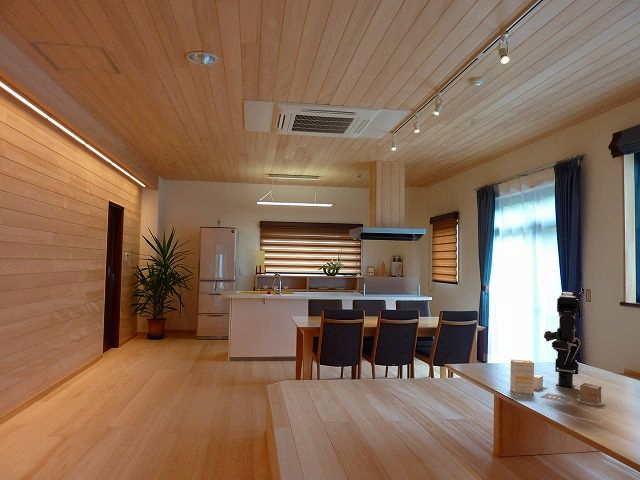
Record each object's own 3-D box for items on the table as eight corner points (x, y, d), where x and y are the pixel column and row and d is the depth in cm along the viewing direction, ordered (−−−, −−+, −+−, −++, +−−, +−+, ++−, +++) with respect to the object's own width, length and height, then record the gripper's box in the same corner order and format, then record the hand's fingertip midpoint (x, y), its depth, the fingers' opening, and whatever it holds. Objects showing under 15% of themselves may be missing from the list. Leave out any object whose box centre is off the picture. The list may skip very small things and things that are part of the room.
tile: (527, 384, 215) (527, 383, 215) (549, 388, 209) (549, 388, 209) (519, 387, 208) (519, 387, 208) (541, 392, 202) (541, 391, 202)
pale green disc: (580, 396, 198) (580, 395, 198) (608, 402, 191) (608, 401, 191) (572, 401, 190) (572, 400, 190) (601, 407, 183) (601, 406, 183)
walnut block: (584, 397, 195) (584, 382, 195) (601, 401, 191) (601, 385, 191) (580, 400, 190) (580, 385, 191) (597, 404, 186) (597, 388, 186)
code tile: (547, 394, 200) (547, 392, 200) (574, 399, 193) (574, 398, 193) (539, 398, 193) (539, 397, 193) (566, 404, 186) (566, 403, 186)
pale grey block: (530, 385, 212) (530, 373, 212) (542, 387, 208) (542, 376, 209) (526, 387, 208) (526, 375, 208) (538, 389, 205) (538, 377, 205)
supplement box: (530, 392, 202) (530, 360, 203) (533, 395, 197) (534, 362, 198) (509, 390, 203) (510, 359, 204) (512, 393, 198) (513, 361, 199)
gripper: (553, 322, 214) (552, 357, 214) (539, 325, 201) (538, 363, 200) (581, 325, 207) (580, 362, 206) (568, 328, 193) (567, 368, 192)
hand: (566, 363), depth 201 cm, fingers open, 9 cm apart
